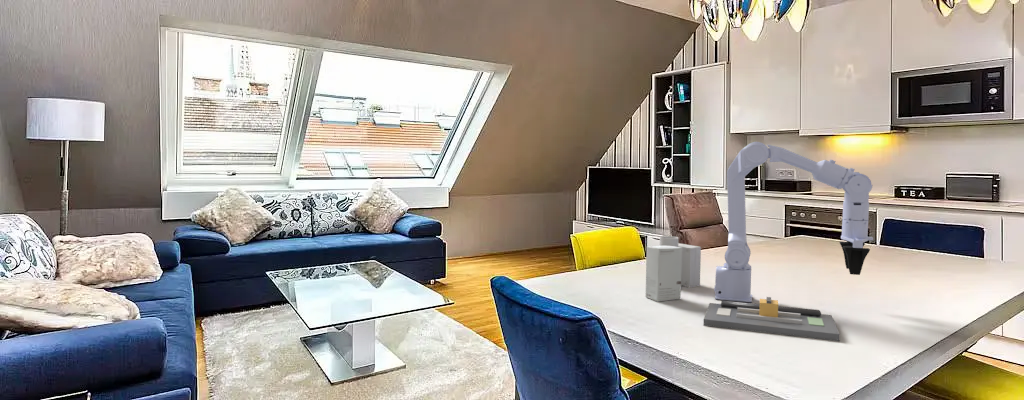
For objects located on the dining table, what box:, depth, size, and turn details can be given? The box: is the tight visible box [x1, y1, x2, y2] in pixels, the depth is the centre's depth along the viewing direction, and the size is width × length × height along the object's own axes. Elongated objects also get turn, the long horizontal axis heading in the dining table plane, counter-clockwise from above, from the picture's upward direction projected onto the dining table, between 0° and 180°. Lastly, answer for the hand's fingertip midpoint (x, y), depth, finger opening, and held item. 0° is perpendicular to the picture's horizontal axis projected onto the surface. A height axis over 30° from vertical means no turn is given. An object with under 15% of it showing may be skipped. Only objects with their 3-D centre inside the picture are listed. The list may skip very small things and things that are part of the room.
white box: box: [659, 235, 702, 288], centre depth 174 cm, size 12×14×15 cm
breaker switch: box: [759, 296, 779, 317], centre depth 133 cm, size 4×4×4 cm
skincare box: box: [644, 245, 682, 302], centre depth 157 cm, size 8×6×15 cm
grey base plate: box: [703, 300, 841, 342], centre depth 134 cm, size 28×16×3 cm, turn 66°
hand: (852, 271), depth 144 cm, fingers open, 7 cm apart
